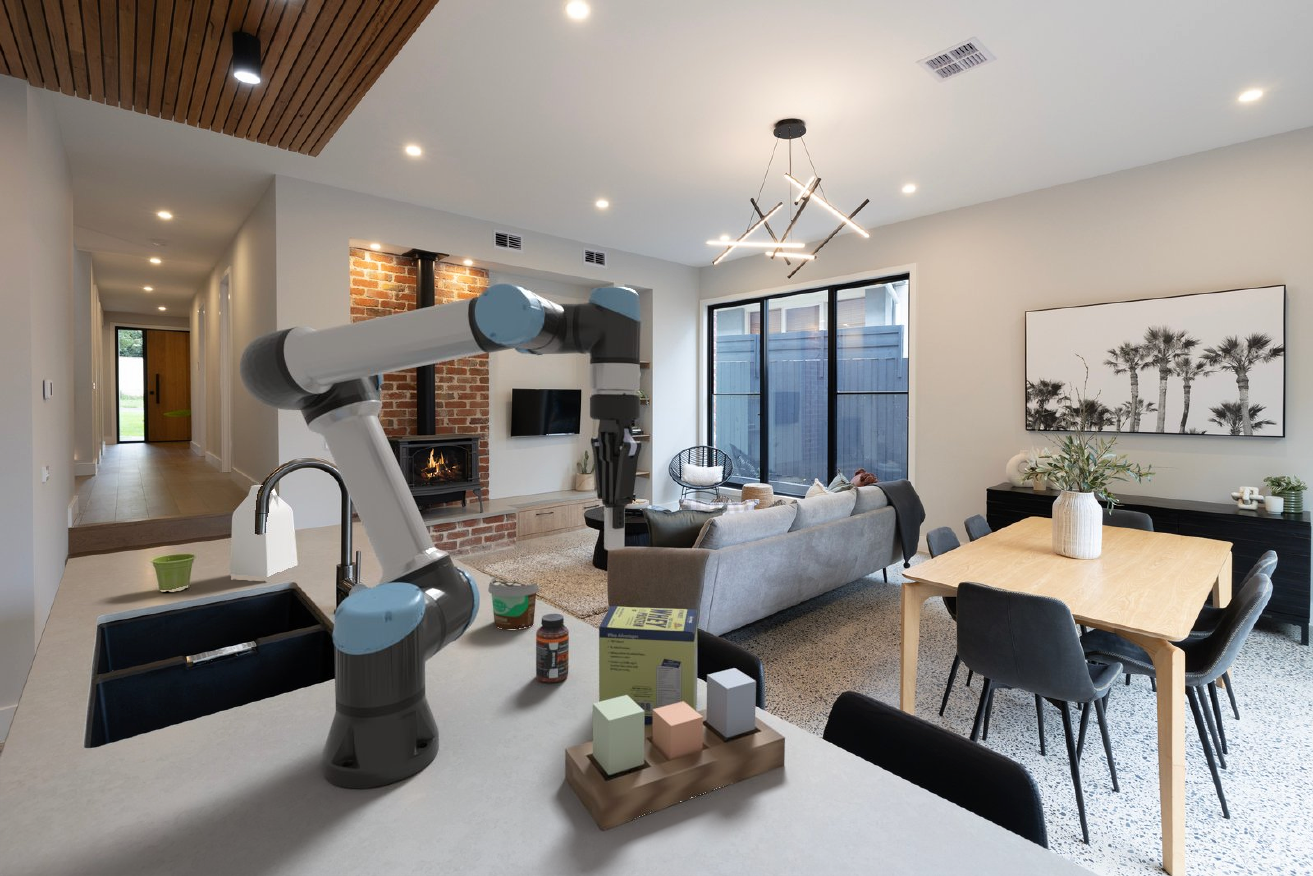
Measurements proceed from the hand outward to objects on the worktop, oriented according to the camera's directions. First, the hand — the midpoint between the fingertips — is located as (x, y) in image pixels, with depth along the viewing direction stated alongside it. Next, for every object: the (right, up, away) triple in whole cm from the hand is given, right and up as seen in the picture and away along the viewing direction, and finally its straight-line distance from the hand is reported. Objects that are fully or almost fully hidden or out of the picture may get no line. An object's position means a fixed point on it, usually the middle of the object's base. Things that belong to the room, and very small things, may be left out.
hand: (614, 548), depth 94 cm
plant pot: (-121, -24, +70) cm, 142 cm away
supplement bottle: (-13, -27, +20) cm, 36 cm away
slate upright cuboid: (+17, -25, -5) cm, 30 cm away
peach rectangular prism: (+9, -28, -9) cm, 31 cm away
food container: (-27, -26, +45) cm, 59 cm away
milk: (-106, -23, +84) cm, 137 cm away
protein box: (+5, -28, +8) cm, 30 cm away
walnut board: (+9, -29, -9) cm, 32 cm away
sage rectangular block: (+1, -25, -14) cm, 29 cm away
